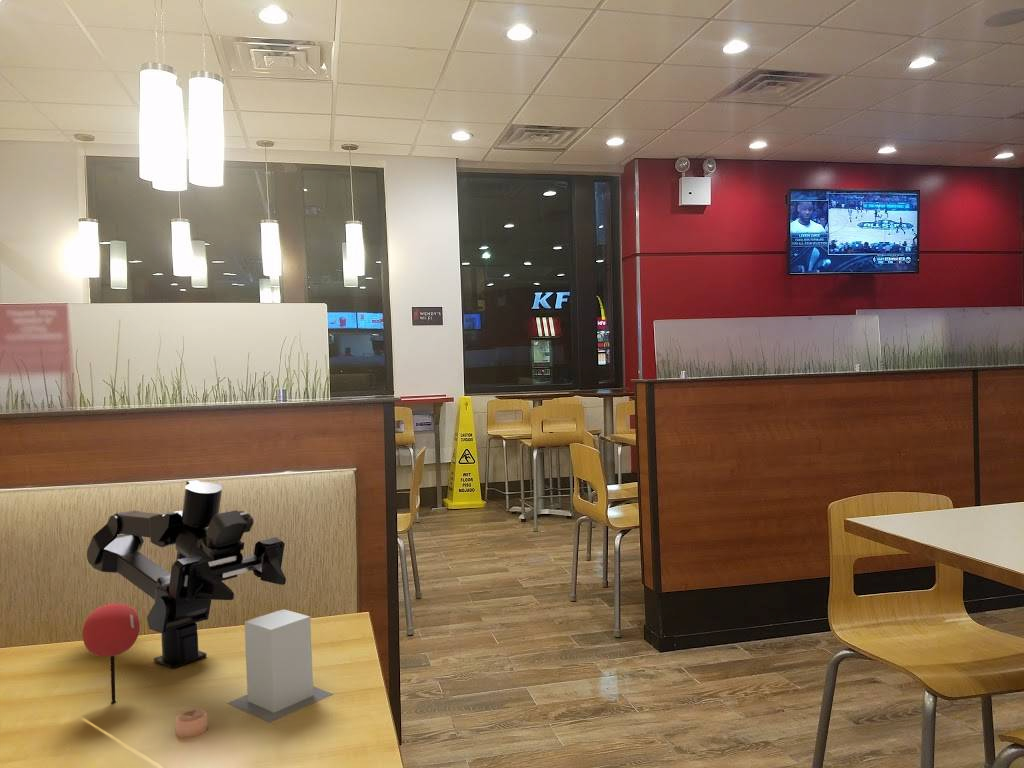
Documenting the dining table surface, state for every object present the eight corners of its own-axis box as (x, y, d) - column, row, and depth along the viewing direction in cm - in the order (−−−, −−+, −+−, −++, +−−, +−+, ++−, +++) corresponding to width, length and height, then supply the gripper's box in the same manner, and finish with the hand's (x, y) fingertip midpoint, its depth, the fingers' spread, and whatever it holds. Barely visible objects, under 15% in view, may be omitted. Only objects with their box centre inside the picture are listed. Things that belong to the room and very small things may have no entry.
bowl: (170, 736, 100) (169, 718, 100) (197, 724, 103) (197, 706, 103) (186, 744, 98) (185, 725, 98) (213, 732, 101) (212, 713, 101)
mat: (227, 705, 109) (227, 702, 109) (290, 680, 117) (290, 677, 117) (269, 725, 102) (269, 722, 102) (333, 696, 111) (333, 693, 111)
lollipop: (84, 718, 106) (79, 616, 106) (87, 698, 113) (83, 602, 113) (142, 705, 110) (138, 606, 110) (142, 687, 117) (138, 594, 117)
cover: (247, 701, 109) (244, 621, 109) (286, 685, 115) (283, 609, 114) (274, 712, 105) (270, 629, 105) (313, 695, 110) (310, 616, 110)
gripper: (156, 514, 113) (210, 554, 104) (261, 496, 128) (316, 529, 119) (148, 579, 115) (200, 624, 106) (252, 554, 130) (306, 591, 121)
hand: (259, 589), depth 113 cm, fingers open, 9 cm apart
